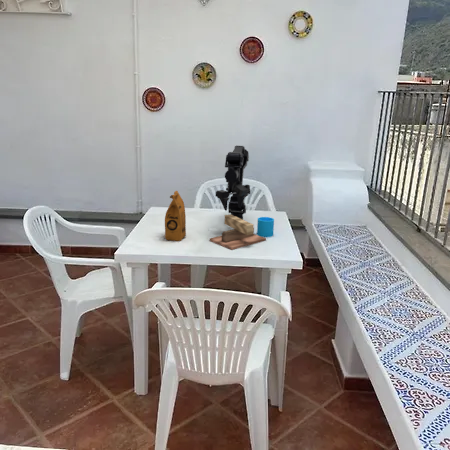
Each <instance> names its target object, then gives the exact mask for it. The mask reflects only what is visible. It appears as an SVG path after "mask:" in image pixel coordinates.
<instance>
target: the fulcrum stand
mask: <svg viewBox="0 0 450 450" xmlns="http://www.w3.org/2000/svg"><path fill="white" fill-rule="evenodd" d="M265 241H267V237H261V236H258V235H257V234H255V227H254V228H253V234H250V235H246V234H244V233H242V232H240V231H238V230H236V229H234V228H232V229H228V230H223V231H222V232H221V235H219V236H214V237H213V236H212V237H211V238H209V242H211V243H214V244H217V245H218V246H221V247H224V248H226V249H228V250H232V251H233V250H236V249H240V248H244V247H247V246H251V245H255V244H258V243H262V242H265Z"/></svg>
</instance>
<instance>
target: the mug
mask: <svg viewBox="0 0 450 450" xmlns="http://www.w3.org/2000/svg"><path fill="white" fill-rule="evenodd" d="M256 225H257V227H256V228H257V229H256V231H257V232H256V235H258V236H261V237H264V238H271V237H274V230H275V229H274V227H275V226H274V225H275V219H274V218H273V217H270V216H259V217H257V224H256Z"/></svg>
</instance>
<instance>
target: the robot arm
mask: <svg viewBox="0 0 450 450" xmlns="http://www.w3.org/2000/svg"><path fill="white" fill-rule="evenodd" d="M249 159H250V155H249V151H248V150H247V149H246V147H245V146H244V145H234V148H233V151H229V152H228V153H227V154H226V155H225V163H224V168H227V171H225V173H224V178H225V180H226V181H225V182H226V183H227V187H226V188H225V190H224V189H219V190H216V191H215V197H216V198H217V199H219V201H220V203H221V205H222V207H223V209H224V211H228V214H231V215H234V216H236V217H238V218H240V219H242V220H244V214H246V213H247V205H246V203H245V201H244V200H245V199H246V197H248V196H249V195H250V194H251V185H250V184H245V185H243V182H244V181H243V180H244V171H245V169H246V167H247V166H248V162H249V161H250V160H249Z"/></svg>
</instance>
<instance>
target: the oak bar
mask: <svg viewBox="0 0 450 450" xmlns="http://www.w3.org/2000/svg"><path fill="white" fill-rule="evenodd" d="M224 225H226V226H228V227H230V228H232V229H236V230H238V231H240V232H242V233H244V234H246V235H250V234H253V228H254V229H255V227H254V224H253V223H251V222H249V221H246V220H244V219H243V220H242V219H240V218H238V217H236V216H234V215H231V213H228V214H225V215H224Z"/></svg>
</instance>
